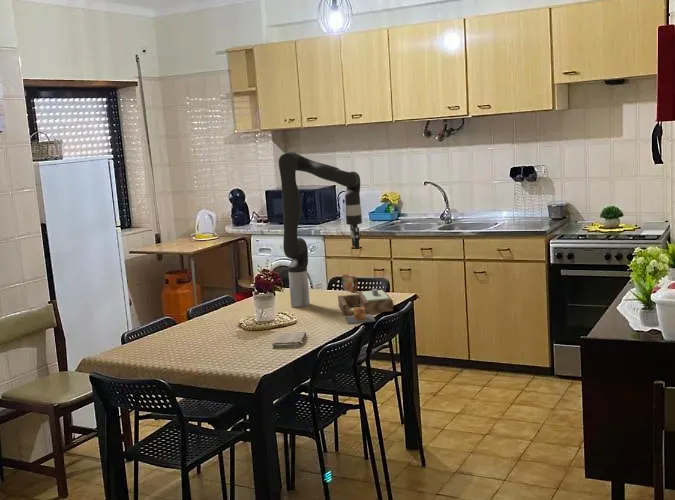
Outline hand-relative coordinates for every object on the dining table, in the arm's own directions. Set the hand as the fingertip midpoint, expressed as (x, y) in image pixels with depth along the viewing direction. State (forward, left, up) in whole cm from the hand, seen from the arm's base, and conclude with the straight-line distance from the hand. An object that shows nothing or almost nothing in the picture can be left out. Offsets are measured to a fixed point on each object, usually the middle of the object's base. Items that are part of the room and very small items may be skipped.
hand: (355, 247), depth 367 cm
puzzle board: (+2, -8, -28) cm, 29 cm away
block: (-4, -29, -28) cm, 40 cm away
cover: (+7, -8, -23) cm, 25 cm away
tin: (0, +36, -28) cm, 46 cm away
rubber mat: (-4, -29, -28) cm, 41 cm away
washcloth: (-37, -55, -29) cm, 72 cm away
